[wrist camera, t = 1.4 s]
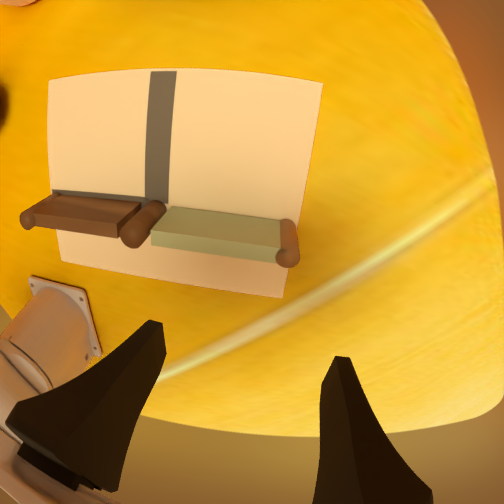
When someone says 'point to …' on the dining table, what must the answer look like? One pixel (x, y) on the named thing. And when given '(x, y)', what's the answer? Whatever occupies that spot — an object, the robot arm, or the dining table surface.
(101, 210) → the base
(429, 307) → the dining table surface
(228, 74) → the card
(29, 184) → the dining table surface
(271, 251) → the fence gate
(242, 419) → the dining table surface
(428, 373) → the dining table surface
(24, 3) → the beverage can
